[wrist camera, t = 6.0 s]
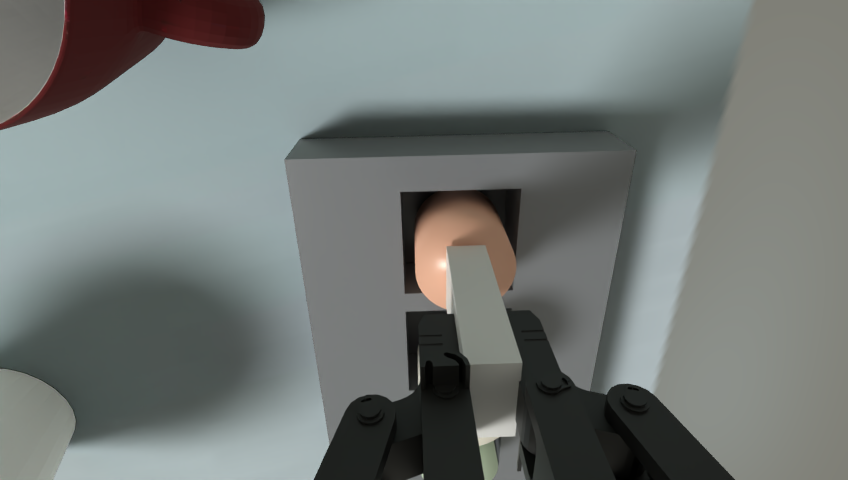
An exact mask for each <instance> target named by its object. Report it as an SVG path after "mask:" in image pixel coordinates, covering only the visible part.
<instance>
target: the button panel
mask: <svg viewBox="0 0 848 480" xmlns="http://www.w3.org/2000/svg"><path fill="white" fill-rule="evenodd" d="M636 151H637V150H635V149H634V148H632V147H631V146H629V145H628V144H627V143H625V142H624V141H622V140H621V139H619V138H618V137H616V136H615V135H613V134H612V133H610V132H609V131H596V132H557V133H518V134H478V135H439V136H400V137H361V138H321V139H300V140H299V141H298V142H297V144H296V145H295V146H294V148H293V149H292V150H291V152H290V153H289V154H288V156H287V157H286V158H285V166H286V173H287V179H288V185H289V192H290V198H291V204H292V210H293V217H294V223H295V229H296V236H297V242H298V248H299V254H300V261H301V267H302V273H303V280H304V286H305V292H306V298H307V305H308V311H309V317H310V324H311V330H312V336H313V343H314V349H315V355H316V361H317V368H318V374H319V380H320V387H321V393H322V399H323V405H324V412H325V418H326V424H327V431H328V437H329V443H331V441H332V439H333V437H334V434H335V432H336V430H337V428H338V426H339V423H340V421H341V419H342V417H343V415H344V412H345V410H346V409H347V407H348V406H349V405H350V403H351V402H353V401H354V400H356V399H357V398H359V397H362V396H365V395H374V394H378V395H381V396H384V397H387V398H388V399H389V400H390V401H392V402H394V401H397V400H400V399H403V398H405V397H407V396H409V395H410V394H412V393H413V392H414V391H415V390H416V389H417V387H418V356H417V351H418V345H419V328H418V324H419V323H420V321H421V319H422V318H423V316H424V315H430V314H447V309H444V308H442V307H440V306H438V305H436V304H434V303H433V302H431V301H430V300H429V299H428V298H427V297H426V296H425V295H424V294H423V293H422V291H421V289H420V288H419V285H418V283H417V279H416V273H415V239H414V222H415V217H416V214H417V212H418V210H419V208H420V206H421V205H422V203H423V202H424V201H425V200H426V199H427V198H428V197H430V196H431V195H432V194H434V193H435V192H438V191H456V190H477V191H479V192H481V193H483V194H484V195H485V196H487V197H488V198H489V199H490V200H491V201H492V203H493V204H494V206H495V208H496V210H497V212H498V215H499V217H500V220H501V222H502V224H503V227H504V229H505V232H506V234H507V237H508V239H509V241H510V244H511V246H512V249H513V251H514V254H515V257H516V274H515V277H514V280H513V282H512V284H511V286H510V288H509V289H508V291H507V292H506V293H505V294H504V295H503V296H502V299H503V302H504V306H505V309H506V311H519V310H530V311H531V312H532V313H533V314H534V315H535V316H536V317H538V318H539V319H540V322H541V324H542V326H543V329H544V332H545V334H546V336H547V340H548V341H549V343H550V346H551V348H552V351H553V353H554V356H555V358H556V360H557V363H558V365H559V368H560V370H561V372H563V373H564V374H566V375H567V376H568V377H570V378H571V380H572V381H573V383H574V384H575V386H577V387H579V388H581V389H584V390H587V391H590V388H591V383H592V378H593V373H594V368H595V362H596V357H597V352H598V347H599V342H600V337H601V332H602V326H603V321H604V316H605V311H606V306H607V301H608V295H609V290H610V285H611V280H612V275H613V270H614V265H615V259H616V254H617V249H618V244H619V239H620V234H621V228H622V223H623V218H624V213H625V208H626V203H627V197H628V192H629V187H630V182H631V177H632V172H633V167H634V161H635V156H636ZM519 441H520V436H519V432H518V428H517V424H516V433H515V436H510V437H499V438H497V439H495V440H494V445H495V450H496V455H497V460H498V470H497V473H496V475H495V477H494V478H493V479H492V480H526V479H525V475H524V471H523V467H522V468H521V471H517V460H518V451H519ZM408 480H423V477H422V475H418V476H416V477H413V478H410V479H408Z"/></svg>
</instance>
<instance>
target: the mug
mask: <svg viewBox="0 0 848 480" xmlns="http://www.w3.org/2000/svg"><path fill="white" fill-rule="evenodd" d="M264 21H265V15H264V10H263V6H262V4H261V3H260V1H259V0H0V130H3V129H6V128H10V127H13V126H17V125H20V124H24V123H27V122H30V121H34V120H37V119H40V118H43V117H46V116H49V115H52V114H55V113H57V112H60V111H62V110H64V109H67V108H69V107H71V106H73V105H76V104H78V103H80V102H81V101H83V100H85V99H87V98H88V97H90V96H92V95H94V94H95V93H97V92H98V91H100V90H101V89H103V88H104V87H105V86H107V85H108V84H109V83H111V82H112V81H113V80H115V79H116V78H118V77H119V76H120V75H122V74H123V73H124V72H126V71H127V70H128V69H130V68H131V67H132V66H134V65H135V64H137V63H138V62H139V61H141V60H142V59H143V58H145V57H146V56H147V55H149V54H150V53H151V52H152V51H153V50H155V49H156V48H157V47H158V46H159V45H160V44H161V43H162V41H163V40H164V39H165V38H169V39H173V40H177V41H181V42H186V43H190V44H196V45H202V46H209V47H216V48H227V49H245V48H249V47H251V46H253V45H255V44H256V43H257V42H258V41H259V39H260V37H261V36H262V33H263V29H264Z"/></svg>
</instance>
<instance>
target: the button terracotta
mask: <svg viewBox="0 0 848 480" xmlns="http://www.w3.org/2000/svg"><path fill="white" fill-rule="evenodd" d="M414 239H415V273H416V279H417V283H418V285H419V288H420V289H421V291H422V293H423V294H424V295H425V296H426V297H427V298H428V299H429V300H430V301H431V302H433V303H434V304H436V305H438V306H440V307H442V308H444V309H447V308H446V246H470V245H485V246H486V249H487V252H488V255H489V258H490V261H491V265H492V268H493V271H494V274H495V277H496V280H497V283H498V287H499V290H500V293H501V296H503V295H504V294H505V293H506V292H507V291H508V289H509V288H510V286H511V284H512V282H513V280H514V277H515V274H516V257H515V254H514V251H513V249H512V246H511V244H510V241H509V239H508V237H507V234H506V232H505V229H504V227H503V224H502V222H501V220H500V217H499V215H498V212H497V210H496V208H495V206H494V204H493V203H492V201H491V200H490V199H489V198H488V197H487V196H485V195H484V194H483V193H481V192H479V191H477V190H456V191H438V192H435V193H434V194H432V195H431V196H430V197H428V198H427V199H426V200H425V201H424V202H423V203H422V205H421V206H420V208H419V210H418V212H417V214H416V217H415V222H414Z"/></svg>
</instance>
